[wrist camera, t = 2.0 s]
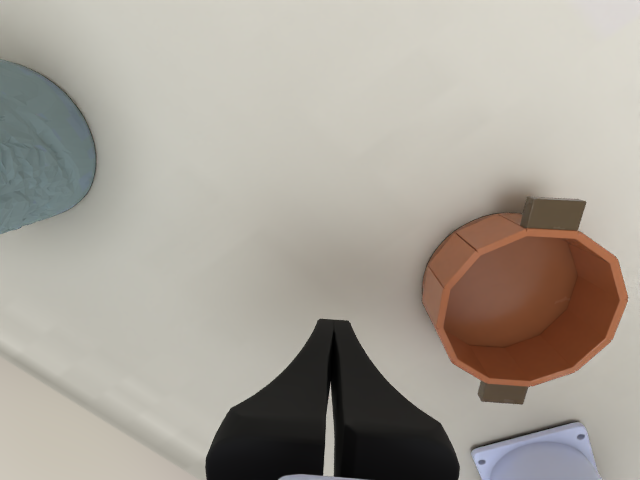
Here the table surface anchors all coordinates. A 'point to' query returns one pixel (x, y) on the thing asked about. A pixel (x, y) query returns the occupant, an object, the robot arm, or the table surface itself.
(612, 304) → the pan
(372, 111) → the table surface
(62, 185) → the grey cylinder
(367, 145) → the table surface
